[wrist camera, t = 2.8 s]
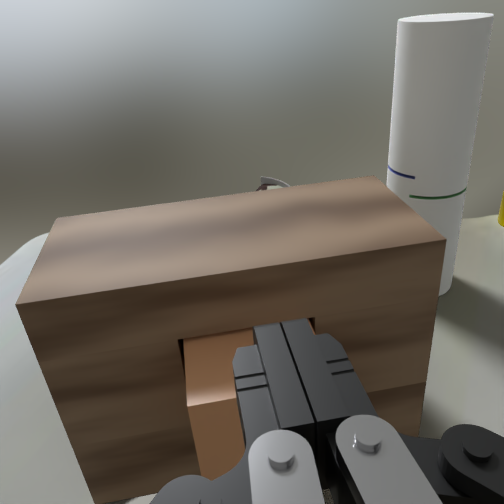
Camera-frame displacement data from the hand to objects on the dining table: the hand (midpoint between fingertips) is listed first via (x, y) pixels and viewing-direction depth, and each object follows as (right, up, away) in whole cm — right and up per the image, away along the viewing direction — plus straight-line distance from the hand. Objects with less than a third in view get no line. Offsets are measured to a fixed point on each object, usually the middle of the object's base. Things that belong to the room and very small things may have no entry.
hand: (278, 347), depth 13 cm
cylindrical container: (+17, 0, +37) cm, 41 cm away
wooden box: (-1, -10, +23) cm, 25 cm away
